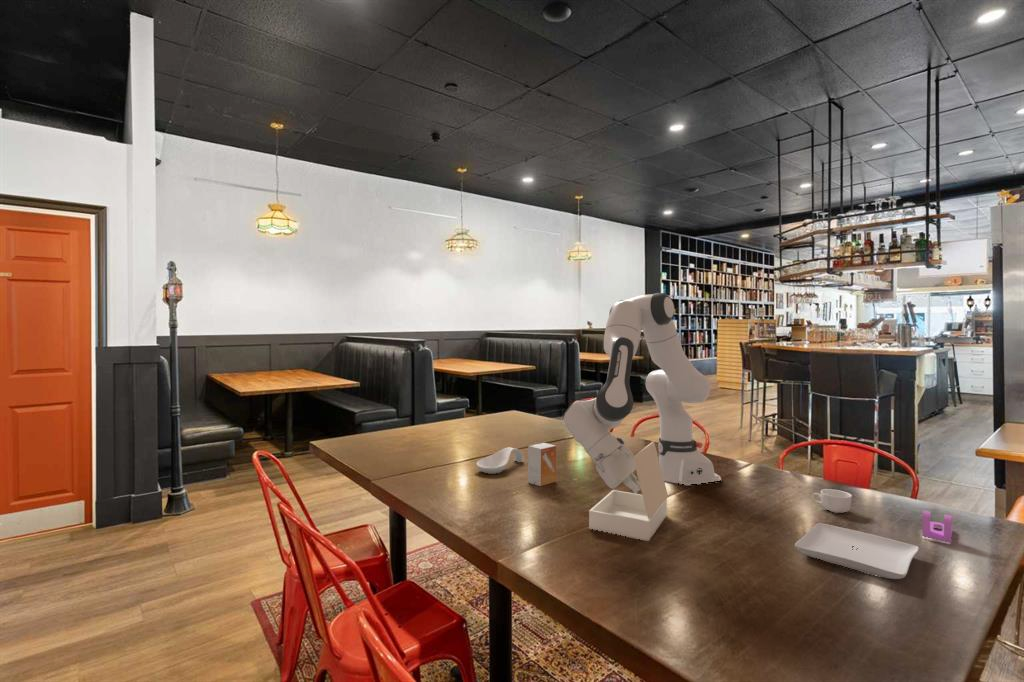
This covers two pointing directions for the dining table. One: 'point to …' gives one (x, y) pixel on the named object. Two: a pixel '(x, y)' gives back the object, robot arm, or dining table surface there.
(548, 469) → the small box
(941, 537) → the bracket
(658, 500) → the mailer lid
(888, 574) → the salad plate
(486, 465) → the spoon rest
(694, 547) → the dining table surface
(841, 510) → the teacup
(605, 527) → the tray
